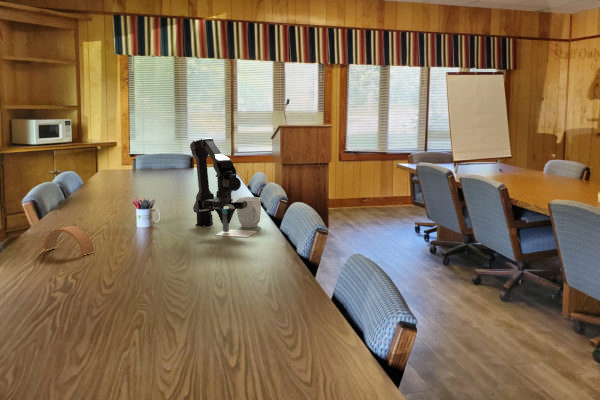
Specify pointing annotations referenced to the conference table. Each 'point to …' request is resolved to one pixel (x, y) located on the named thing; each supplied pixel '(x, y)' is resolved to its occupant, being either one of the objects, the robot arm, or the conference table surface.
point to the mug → (250, 212)
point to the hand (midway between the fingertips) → (225, 223)
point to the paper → (236, 233)
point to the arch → (75, 233)
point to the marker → (225, 220)
